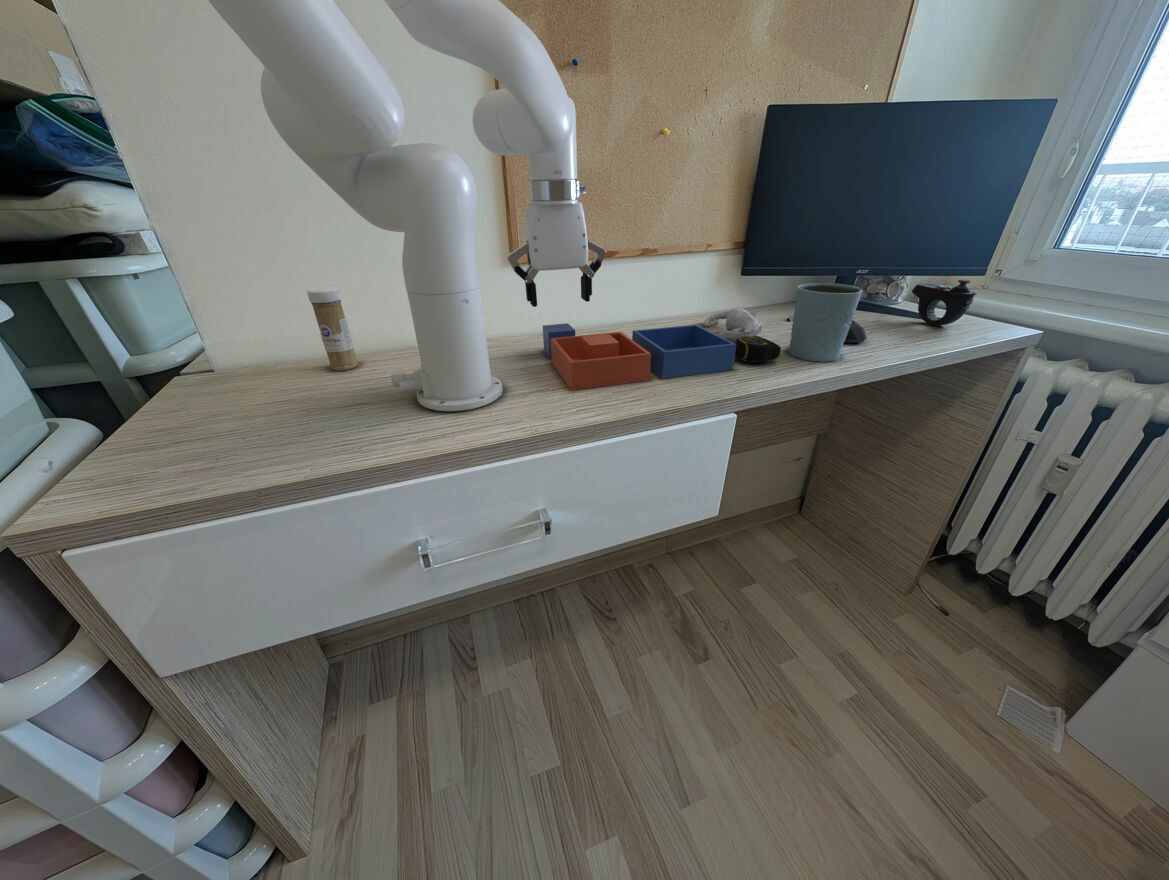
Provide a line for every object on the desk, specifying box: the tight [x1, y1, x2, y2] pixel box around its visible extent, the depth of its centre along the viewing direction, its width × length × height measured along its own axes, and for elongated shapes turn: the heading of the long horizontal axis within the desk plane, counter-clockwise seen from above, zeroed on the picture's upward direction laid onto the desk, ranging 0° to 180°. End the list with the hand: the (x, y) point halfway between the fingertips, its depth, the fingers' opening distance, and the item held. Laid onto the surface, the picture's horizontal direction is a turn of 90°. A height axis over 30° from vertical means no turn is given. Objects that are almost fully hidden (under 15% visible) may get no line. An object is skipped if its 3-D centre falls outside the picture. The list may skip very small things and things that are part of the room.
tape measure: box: [734, 335, 782, 364], centre depth 78 cm, size 7×7×4 cm
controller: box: [911, 279, 978, 327], centre depth 97 cm, size 4×12×10 cm, turn 17°
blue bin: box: [631, 324, 736, 380], centre depth 77 cm, size 13×13×4 cm
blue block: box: [542, 322, 576, 360], centre depth 81 cm, size 5×5×5 cm
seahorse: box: [702, 307, 765, 343], centre depth 92 cm, size 5×12×20 cm
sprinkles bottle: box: [306, 285, 359, 371], centre depth 74 cm, size 5×5×14 cm
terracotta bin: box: [551, 331, 651, 391], centre depth 73 cm, size 13×13×4 cm
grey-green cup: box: [788, 282, 863, 363], centre depth 78 cm, size 10×10×12 cm
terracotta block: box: [581, 334, 619, 360], centre depth 73 cm, size 5×5×5 cm
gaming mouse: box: [844, 319, 868, 344], centre depth 91 cm, size 6×15×4 cm, turn 17°
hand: (559, 302), depth 78 cm, fingers open, 9 cm apart
